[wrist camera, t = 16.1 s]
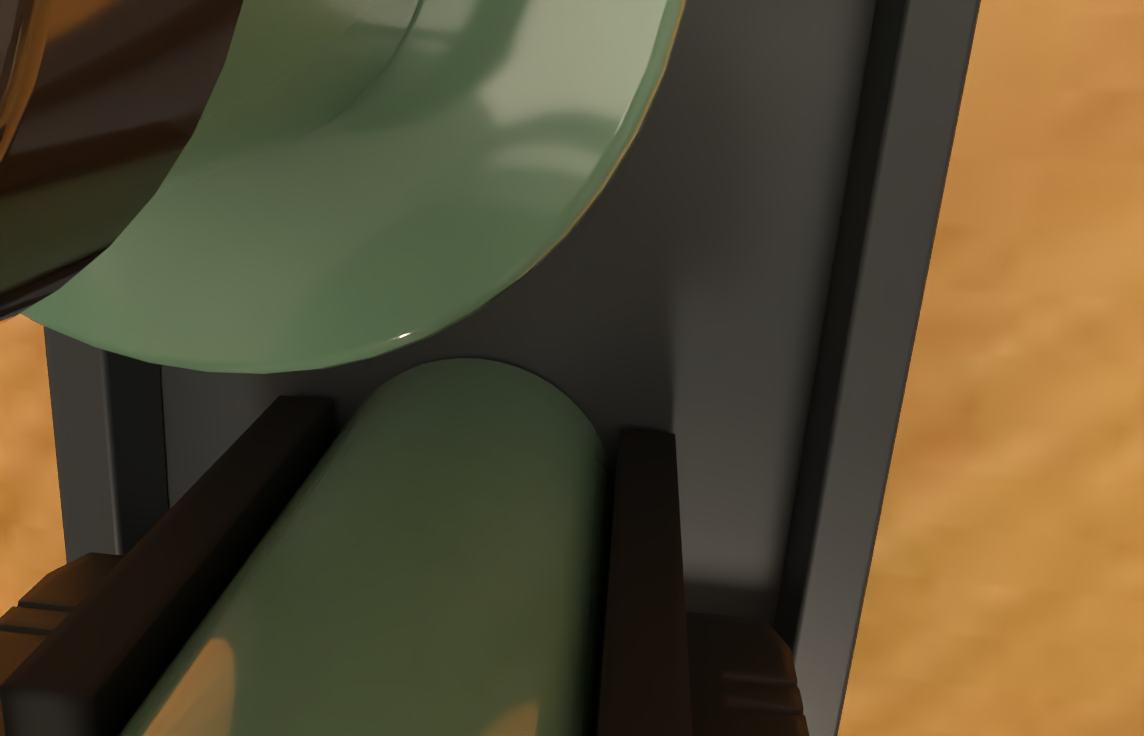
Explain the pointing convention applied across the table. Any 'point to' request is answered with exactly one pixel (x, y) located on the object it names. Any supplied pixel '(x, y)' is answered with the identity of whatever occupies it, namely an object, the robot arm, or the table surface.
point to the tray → (668, 318)
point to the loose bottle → (417, 577)
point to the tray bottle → (303, 164)
